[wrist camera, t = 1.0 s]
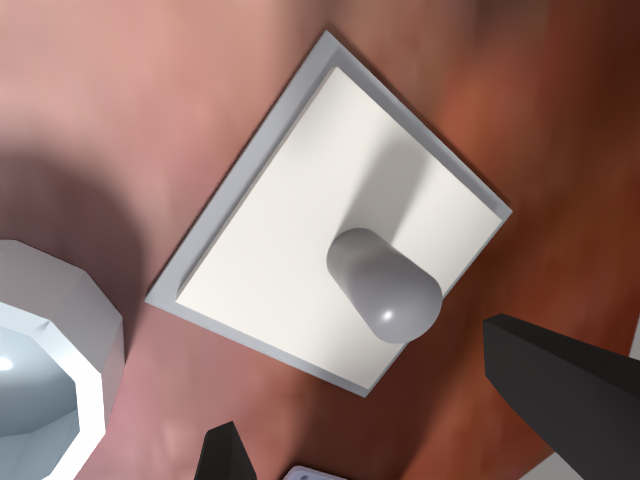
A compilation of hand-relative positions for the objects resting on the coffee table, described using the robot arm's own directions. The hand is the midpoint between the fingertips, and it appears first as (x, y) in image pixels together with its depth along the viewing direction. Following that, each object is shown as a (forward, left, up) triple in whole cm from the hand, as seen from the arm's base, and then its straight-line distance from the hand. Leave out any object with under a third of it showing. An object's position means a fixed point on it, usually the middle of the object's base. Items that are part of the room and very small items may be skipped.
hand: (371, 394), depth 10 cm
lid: (-2, -2, -9) cm, 10 cm away
